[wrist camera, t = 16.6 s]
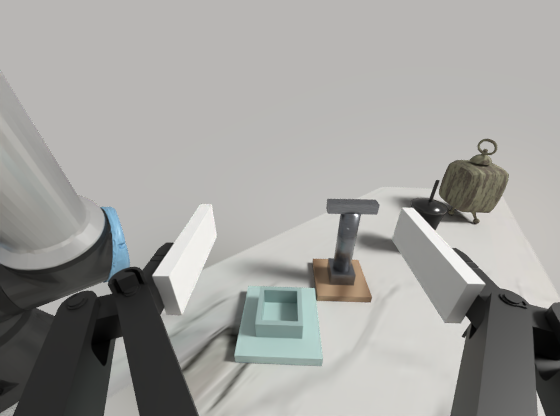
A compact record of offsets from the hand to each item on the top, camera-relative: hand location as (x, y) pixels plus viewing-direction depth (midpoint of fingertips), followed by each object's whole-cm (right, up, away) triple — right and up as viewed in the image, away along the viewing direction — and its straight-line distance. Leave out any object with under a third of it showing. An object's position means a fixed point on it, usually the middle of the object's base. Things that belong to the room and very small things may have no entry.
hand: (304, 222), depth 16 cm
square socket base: (-2, -21, +27) cm, 34 cm away
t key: (+12, -14, +35) cm, 40 cm away
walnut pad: (+12, -16, +36) cm, 41 cm away
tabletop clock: (+58, -1, +62) cm, 85 cm away
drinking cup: (+34, -10, +46) cm, 58 cm away
